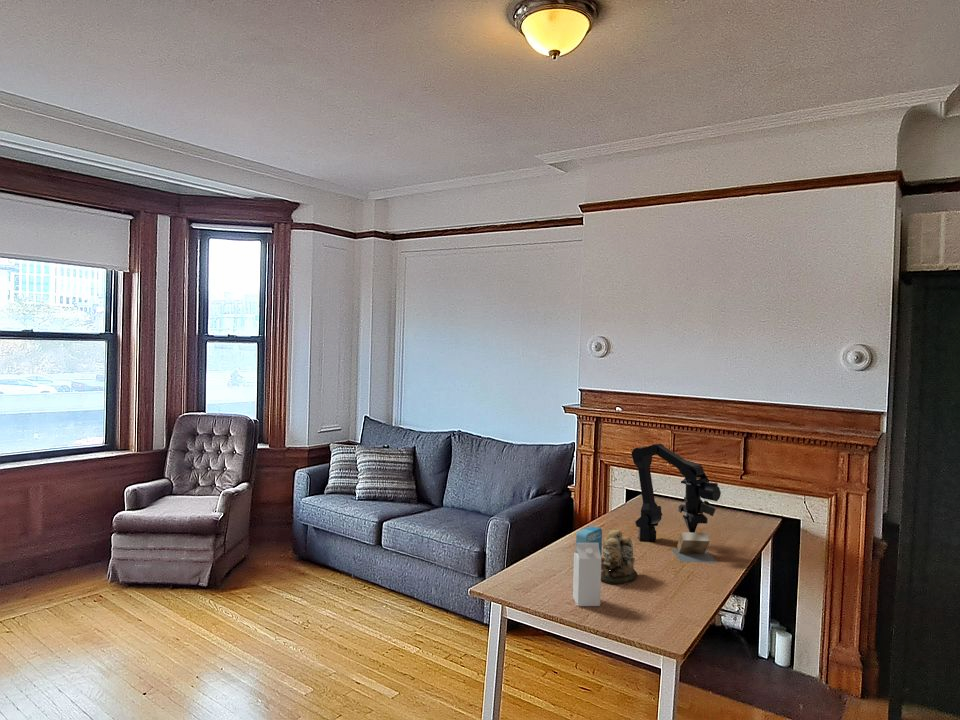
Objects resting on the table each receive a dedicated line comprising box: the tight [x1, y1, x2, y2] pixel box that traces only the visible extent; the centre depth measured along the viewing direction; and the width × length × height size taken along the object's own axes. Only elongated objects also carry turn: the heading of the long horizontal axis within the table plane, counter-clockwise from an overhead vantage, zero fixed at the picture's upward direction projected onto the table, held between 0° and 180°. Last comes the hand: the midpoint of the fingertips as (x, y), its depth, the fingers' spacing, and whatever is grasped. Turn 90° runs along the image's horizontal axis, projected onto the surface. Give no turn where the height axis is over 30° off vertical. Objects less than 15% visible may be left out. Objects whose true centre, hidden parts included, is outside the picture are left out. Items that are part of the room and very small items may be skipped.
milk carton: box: [572, 543, 602, 607], centre depth 204 cm, size 7×7×19 cm
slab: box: [676, 531, 711, 554], centre depth 252 cm, size 10×4×9 cm
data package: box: [575, 525, 603, 556], centre depth 244 cm, size 12×4×12 cm, turn 140°
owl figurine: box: [601, 529, 638, 586], centre depth 227 cm, size 18×12×17 cm, turn 140°
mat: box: [670, 548, 719, 564], centre depth 251 cm, size 14×15×1 cm
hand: (692, 535), depth 254 cm, fingers closed
